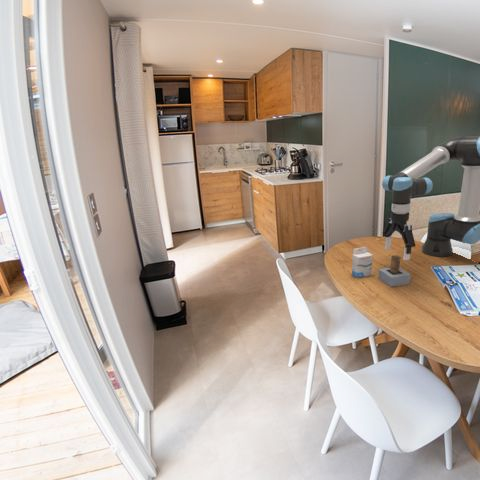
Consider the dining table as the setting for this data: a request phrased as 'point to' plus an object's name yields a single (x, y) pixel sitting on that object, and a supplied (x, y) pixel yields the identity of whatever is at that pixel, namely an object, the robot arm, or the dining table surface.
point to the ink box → (361, 262)
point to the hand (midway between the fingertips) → (396, 254)
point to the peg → (395, 264)
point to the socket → (394, 277)
